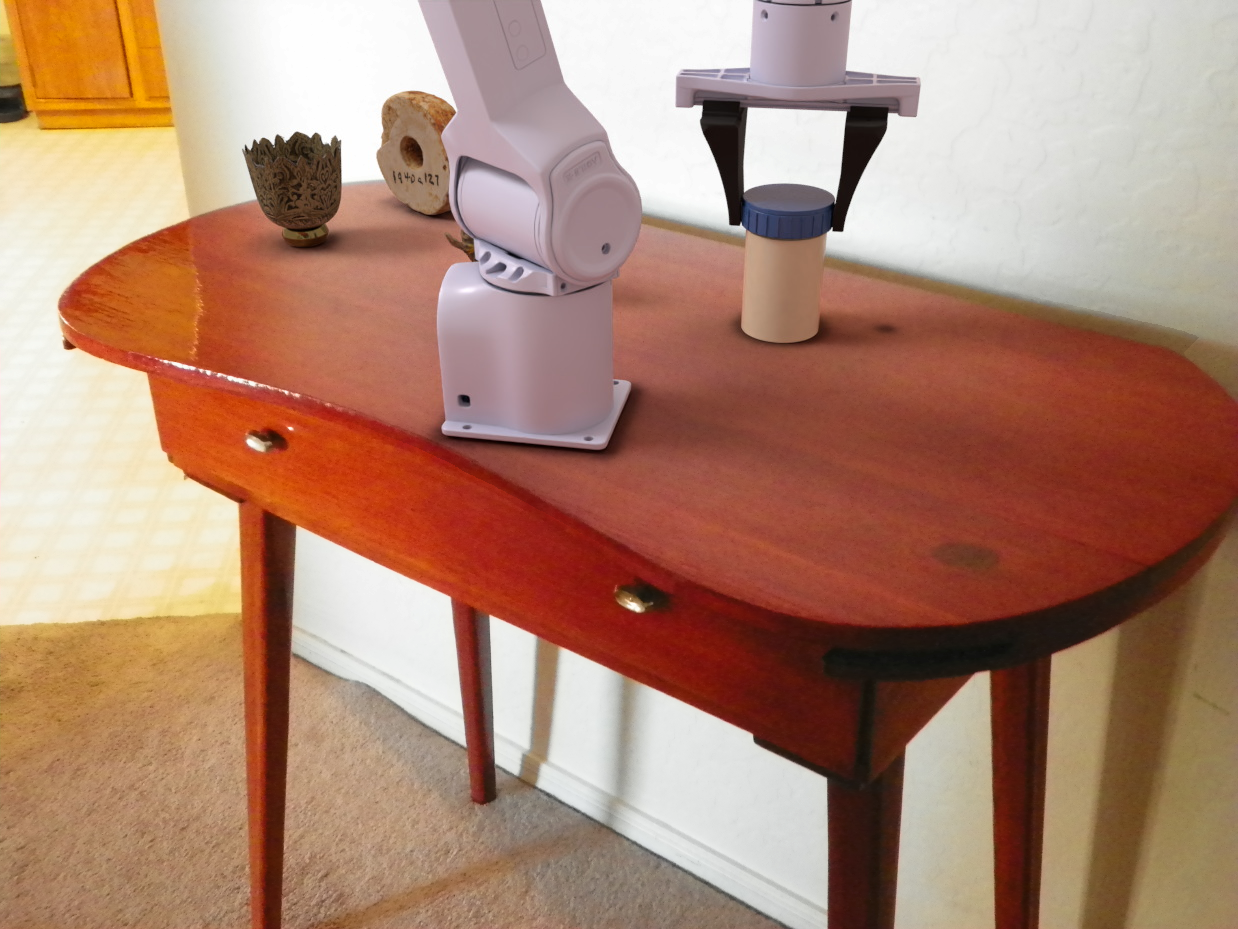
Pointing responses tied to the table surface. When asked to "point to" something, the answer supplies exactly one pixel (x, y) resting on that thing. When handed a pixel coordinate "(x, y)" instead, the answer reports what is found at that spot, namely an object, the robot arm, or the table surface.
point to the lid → (787, 211)
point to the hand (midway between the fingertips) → (786, 223)
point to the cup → (297, 184)
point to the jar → (782, 287)
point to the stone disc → (416, 150)
